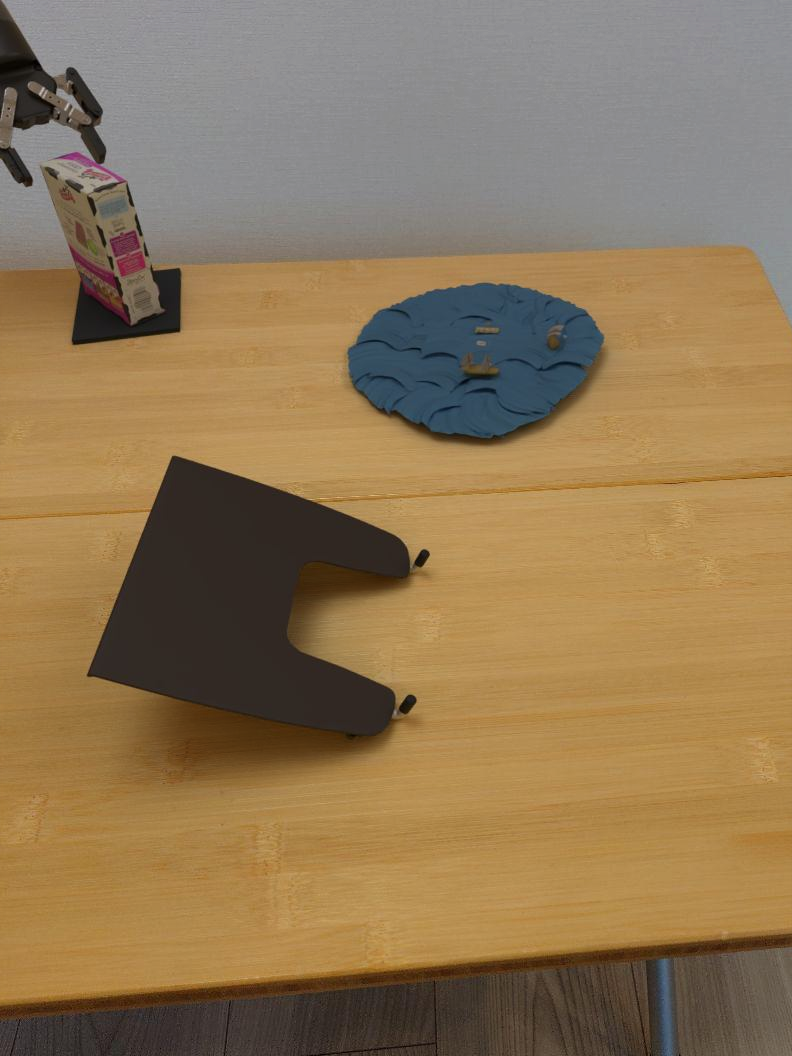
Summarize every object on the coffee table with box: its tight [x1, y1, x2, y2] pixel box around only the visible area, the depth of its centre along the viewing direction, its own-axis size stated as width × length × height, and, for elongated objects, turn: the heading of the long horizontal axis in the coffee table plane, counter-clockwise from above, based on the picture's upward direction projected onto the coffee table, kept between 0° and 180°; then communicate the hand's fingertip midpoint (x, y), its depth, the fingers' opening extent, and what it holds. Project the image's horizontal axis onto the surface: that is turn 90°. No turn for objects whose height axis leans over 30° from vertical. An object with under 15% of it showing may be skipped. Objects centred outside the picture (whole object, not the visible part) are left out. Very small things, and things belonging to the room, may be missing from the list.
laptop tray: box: [86, 455, 431, 741], centre depth 78 cm, size 23×23×9 cm
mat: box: [71, 267, 182, 345], centre depth 116 cm, size 12×14×1 cm
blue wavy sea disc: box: [347, 282, 605, 439], centre depth 107 cm, size 30×30×5 cm
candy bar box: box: [38, 151, 166, 326], centre depth 109 cm, size 11×5×16 cm, turn 47°
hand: (66, 172), depth 108 cm, fingers open, 8 cm apart
